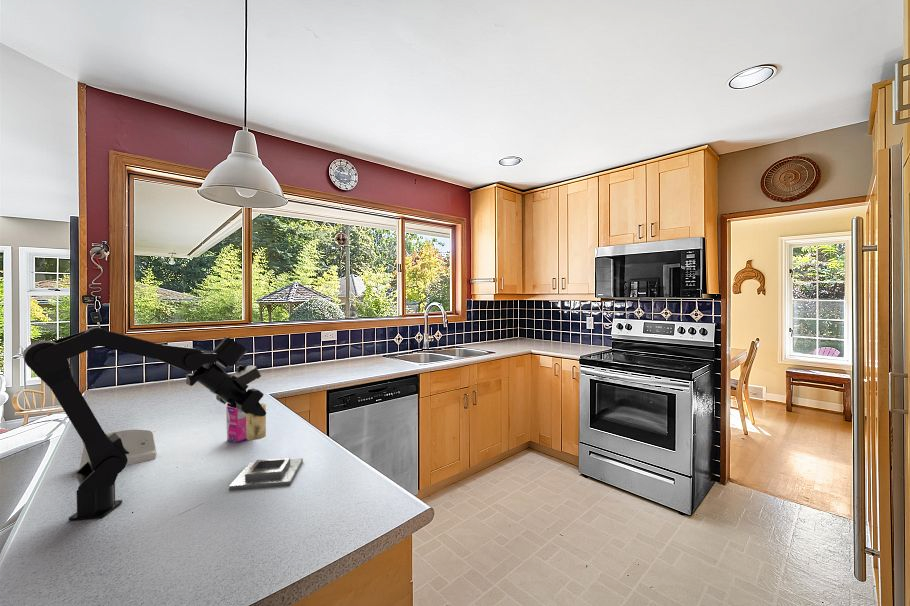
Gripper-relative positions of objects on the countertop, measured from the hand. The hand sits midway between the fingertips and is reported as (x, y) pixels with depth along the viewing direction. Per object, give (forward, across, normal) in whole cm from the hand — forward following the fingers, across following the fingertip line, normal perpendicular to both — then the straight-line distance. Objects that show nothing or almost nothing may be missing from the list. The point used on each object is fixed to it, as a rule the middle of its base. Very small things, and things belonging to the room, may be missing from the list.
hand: (261, 412), depth 112 cm
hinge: (-9, +30, +29) cm, 43 cm away
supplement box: (+12, +22, +8) cm, 26 cm away
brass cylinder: (+4, 0, +6) cm, 7 cm away
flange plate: (+7, -12, +12) cm, 18 cm away
